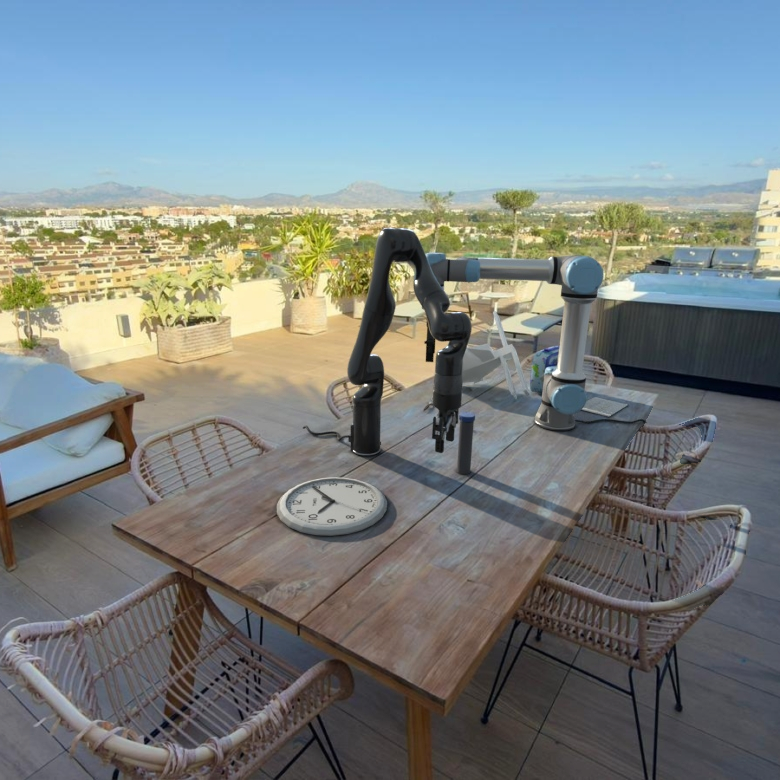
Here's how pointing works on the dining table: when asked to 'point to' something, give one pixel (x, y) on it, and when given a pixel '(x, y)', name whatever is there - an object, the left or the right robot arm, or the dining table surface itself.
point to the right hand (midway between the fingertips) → (430, 357)
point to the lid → (467, 417)
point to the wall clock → (331, 506)
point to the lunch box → (542, 367)
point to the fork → (428, 404)
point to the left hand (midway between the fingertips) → (444, 446)
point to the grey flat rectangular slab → (603, 406)
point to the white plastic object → (492, 361)
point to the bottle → (465, 447)
